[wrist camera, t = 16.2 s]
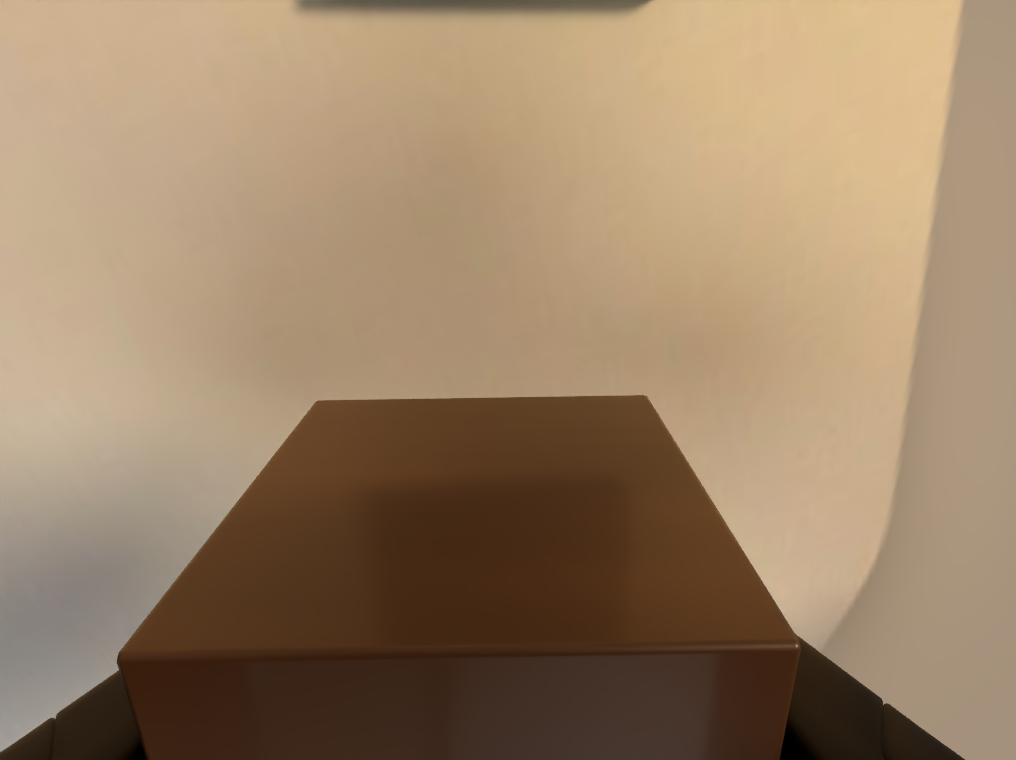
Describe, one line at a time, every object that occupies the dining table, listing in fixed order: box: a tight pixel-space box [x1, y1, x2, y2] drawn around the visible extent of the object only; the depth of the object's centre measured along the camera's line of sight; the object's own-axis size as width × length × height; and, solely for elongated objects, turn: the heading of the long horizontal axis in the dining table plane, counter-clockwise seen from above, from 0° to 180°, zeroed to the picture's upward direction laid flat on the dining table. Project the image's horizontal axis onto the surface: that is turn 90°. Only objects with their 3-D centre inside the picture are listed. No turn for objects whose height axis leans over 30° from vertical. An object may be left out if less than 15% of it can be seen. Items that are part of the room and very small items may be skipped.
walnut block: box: [117, 395, 801, 760], centre depth 7 cm, size 5×5×5 cm
